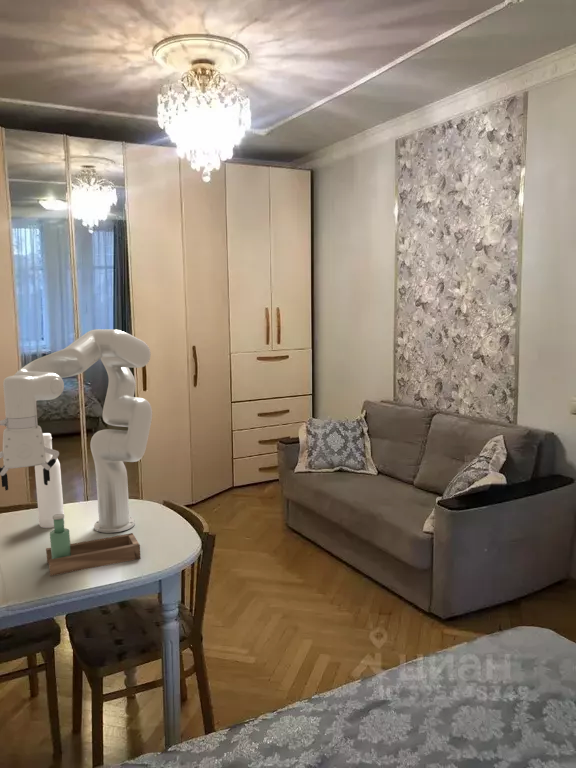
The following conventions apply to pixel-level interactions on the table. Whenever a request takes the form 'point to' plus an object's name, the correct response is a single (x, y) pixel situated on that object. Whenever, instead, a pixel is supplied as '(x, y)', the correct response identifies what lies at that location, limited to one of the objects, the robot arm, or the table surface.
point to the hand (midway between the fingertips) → (26, 486)
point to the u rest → (95, 554)
